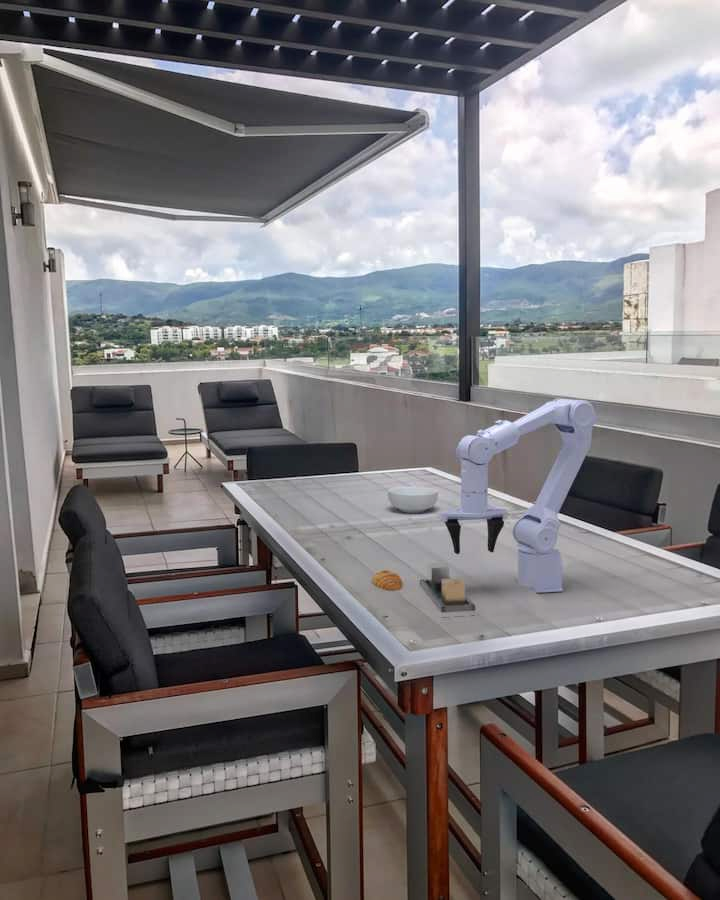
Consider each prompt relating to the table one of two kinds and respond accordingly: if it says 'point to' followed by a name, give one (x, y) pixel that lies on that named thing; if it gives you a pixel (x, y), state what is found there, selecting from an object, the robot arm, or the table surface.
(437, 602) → the tray
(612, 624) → the table surface
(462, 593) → the wooden block with cap
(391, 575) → the pastry
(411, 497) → the cereal bowl
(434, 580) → the steel block
